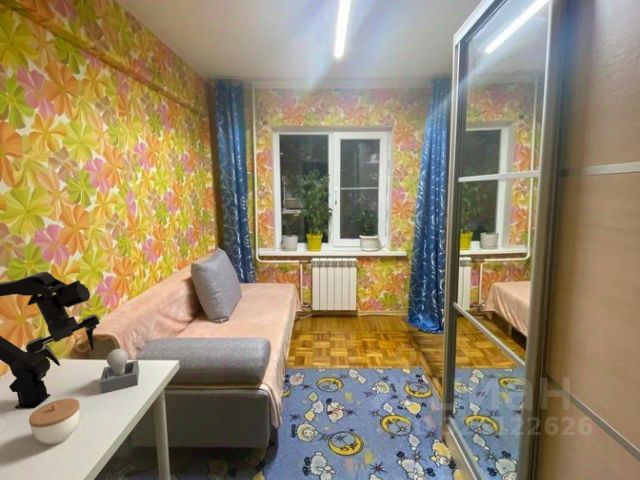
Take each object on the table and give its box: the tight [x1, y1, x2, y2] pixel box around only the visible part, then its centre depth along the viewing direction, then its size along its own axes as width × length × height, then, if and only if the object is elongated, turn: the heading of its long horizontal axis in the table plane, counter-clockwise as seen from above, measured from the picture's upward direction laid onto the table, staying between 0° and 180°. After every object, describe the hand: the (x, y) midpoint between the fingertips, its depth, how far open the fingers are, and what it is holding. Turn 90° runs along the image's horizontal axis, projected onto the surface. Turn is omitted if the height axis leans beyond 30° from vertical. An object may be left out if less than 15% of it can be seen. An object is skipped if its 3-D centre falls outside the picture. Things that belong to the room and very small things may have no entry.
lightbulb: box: [106, 348, 129, 377], centre depth 120 cm, size 6×6×11 cm
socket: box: [99, 359, 140, 395], centre depth 121 cm, size 10×10×4 cm
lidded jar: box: [28, 397, 81, 446], centre depth 95 cm, size 11×11×9 cm
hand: (76, 357), depth 112 cm, fingers open, 9 cm apart
